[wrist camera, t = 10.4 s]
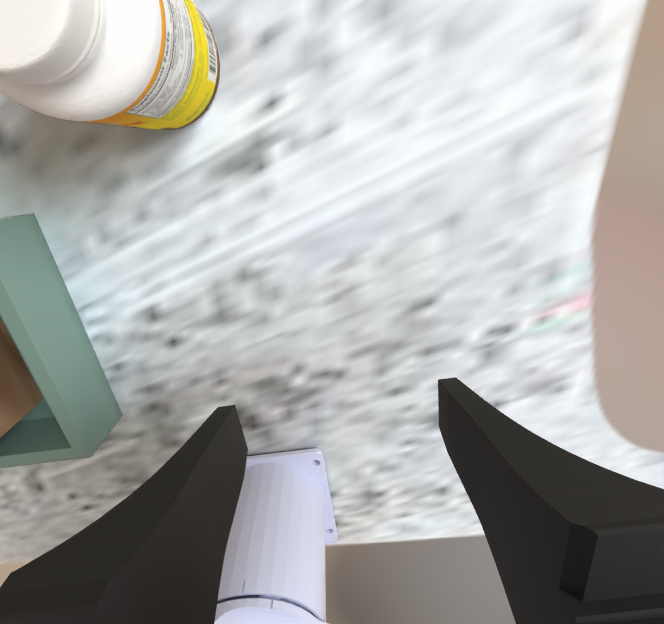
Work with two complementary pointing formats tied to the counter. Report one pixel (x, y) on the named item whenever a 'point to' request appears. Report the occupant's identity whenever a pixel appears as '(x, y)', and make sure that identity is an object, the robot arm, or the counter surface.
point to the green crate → (49, 355)
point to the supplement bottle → (110, 60)
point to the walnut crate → (14, 384)
